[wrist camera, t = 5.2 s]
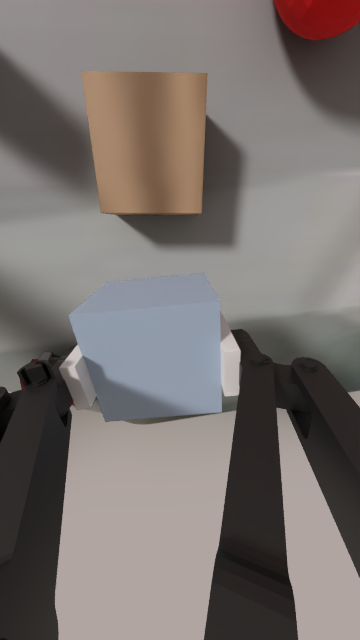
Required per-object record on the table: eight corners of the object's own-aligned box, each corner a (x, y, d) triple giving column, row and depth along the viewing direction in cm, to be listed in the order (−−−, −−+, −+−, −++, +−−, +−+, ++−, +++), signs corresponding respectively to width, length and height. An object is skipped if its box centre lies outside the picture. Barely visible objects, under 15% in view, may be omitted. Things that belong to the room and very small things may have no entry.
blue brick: (126, 361, 18) (105, 421, 13) (106, 282, 15) (67, 315, 10) (207, 354, 18) (221, 412, 12) (203, 272, 15) (219, 300, 10)
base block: (116, 214, 26) (100, 212, 21) (104, 108, 22) (81, 71, 17) (196, 215, 26) (201, 213, 21) (199, 109, 22) (207, 73, 17)
